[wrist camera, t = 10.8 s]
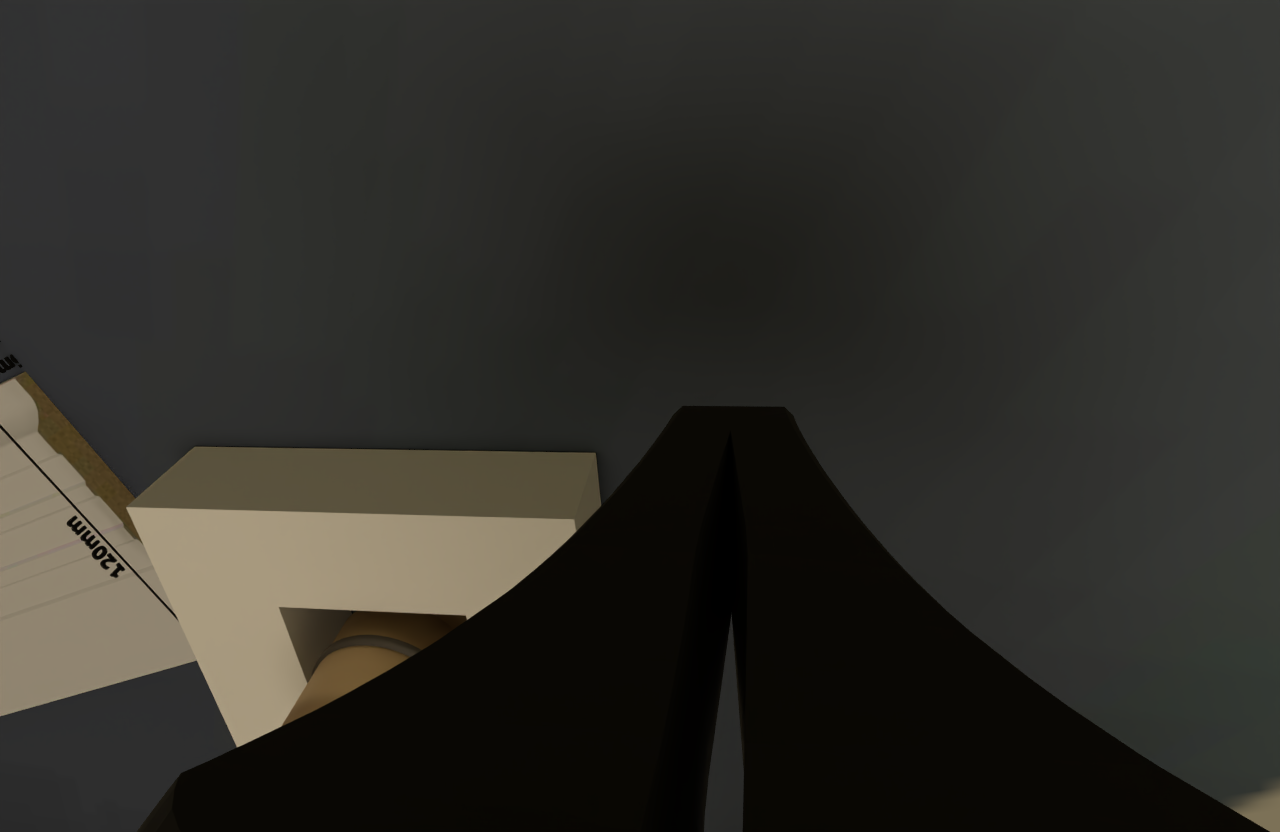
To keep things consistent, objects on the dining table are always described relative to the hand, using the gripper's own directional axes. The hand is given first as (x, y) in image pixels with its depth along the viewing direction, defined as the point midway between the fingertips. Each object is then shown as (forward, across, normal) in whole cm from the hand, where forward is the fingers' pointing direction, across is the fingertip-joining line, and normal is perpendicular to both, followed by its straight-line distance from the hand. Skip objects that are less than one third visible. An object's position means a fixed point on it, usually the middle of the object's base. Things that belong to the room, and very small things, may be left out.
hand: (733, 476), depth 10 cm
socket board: (+10, +10, +12) cm, 18 cm away
